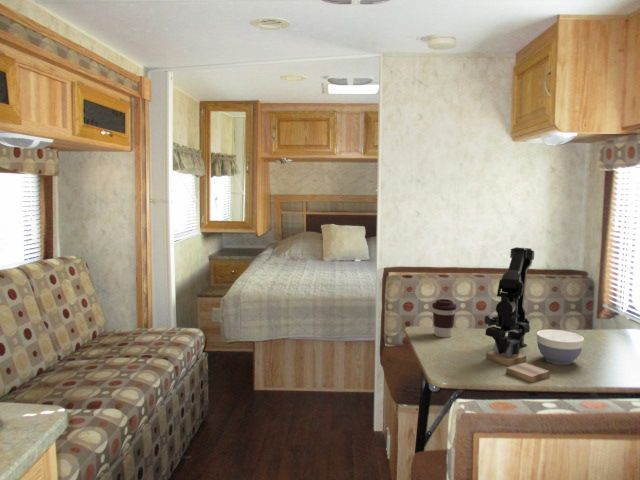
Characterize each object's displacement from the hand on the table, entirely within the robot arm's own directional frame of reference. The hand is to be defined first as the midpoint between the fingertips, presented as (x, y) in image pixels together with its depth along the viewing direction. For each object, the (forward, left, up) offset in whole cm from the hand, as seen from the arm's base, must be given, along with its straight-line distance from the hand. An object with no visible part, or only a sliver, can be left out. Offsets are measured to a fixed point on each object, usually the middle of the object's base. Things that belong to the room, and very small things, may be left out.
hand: (506, 352), depth 205 cm
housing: (0, 0, -1) cm, 1 cm away
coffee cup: (-3, -34, -3) cm, 34 cm away
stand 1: (0, 0, -3) cm, 3 cm away
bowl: (-16, +11, -3) cm, 20 cm away
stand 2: (+7, +14, -3) cm, 16 cm away
